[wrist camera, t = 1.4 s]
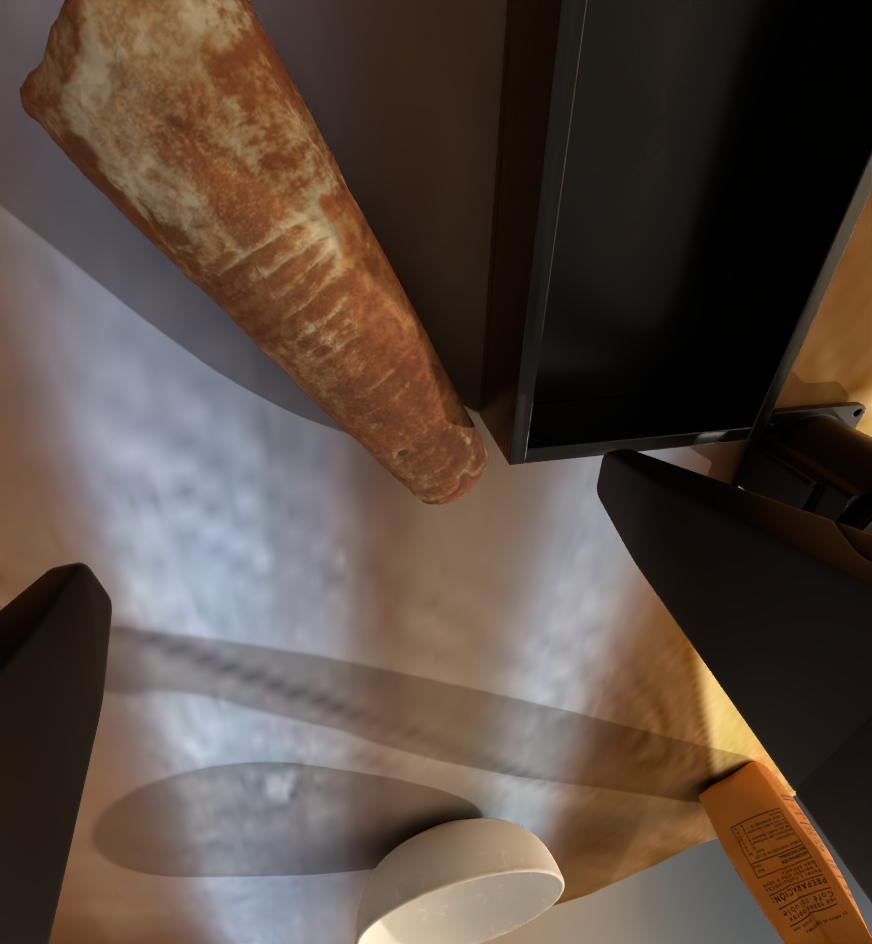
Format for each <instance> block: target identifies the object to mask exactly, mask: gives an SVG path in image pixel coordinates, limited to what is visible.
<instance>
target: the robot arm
mask: <svg viewBox="0 0 872 944" xmlns="http://www.w3.org/2000/svg"><path fill="white" fill-rule="evenodd" d="M865 409H866V408H865V406H864V405H863V404H860V403H858V402H848V403H837V404H826V405H815V406H804V407H793V408H782V409H773V412H772V414H771V416H770V418H769V420H768V423H767V425H766V427H765V429H764V432H763V434H762V436H761V438H760V439H757V440H752V442H751V444H750V446H749V448H748V451H747V453H746V455H745V458H744V460H743V462H742V464H741V467H740V469H739V471H738V474H737V476H736V478H735V480H734V483H733V485H730V484H727V483H724V482H721V481H718V480H715V479H713V478H710V477H707V476H704V475H701V474H698V473H696V472H693V471H690V470H687V469H684V468H681V467H679V466H676V465H673V464H670V463H667V462H664V461H661V460H659V459H656V458H653V457H650V456H647V455H644V454H642V453H639V452H636V451H633V450H630V449H619V450H614V451H609V452H607V453H606V454H605V455H604V456H603V459H602V464H601V469H600V474H599V479H598V483H597V492H598V496H599V498H600V500H601V502H602V504H603V506H604V508H605V510H606V511H607V513H608V515H609V517H610V519H611V520H612V522H613V524H614V526H615V528H616V530H617V531H618V533H619V535H620V537H621V539H622V541H623V542H624V544H625V546H626V548H627V550H628V551H629V553H630V555H631V556H632V558H633V560H634V561H635V563H636V565H637V566H638V568H639V569H640V571H641V572H642V574H643V575H644V576H645V578H646V579H647V581H648V582H649V584H650V585H651V586H652V588H653V589H654V591H655V592H656V594H657V595H658V596H659V598H660V599H661V601H662V602H663V604H664V605H665V607H666V608H667V609H668V611H669V612H670V614H671V615H672V617H673V618H674V619H675V621H676V622H677V624H678V625H679V627H680V628H681V630H682V631H683V632H684V634H685V635H686V637H687V638H688V640H689V641H690V642H691V644H692V645H693V647H694V648H695V650H696V651H697V652H698V654H699V655H700V657H701V658H702V660H703V661H704V663H705V664H706V665H707V667H708V668H709V670H710V671H711V673H712V674H713V675H714V677H715V678H716V680H717V681H718V683H719V684H720V686H721V687H722V688H723V690H724V691H725V693H726V694H727V696H728V697H729V698H730V700H731V701H732V703H733V704H734V706H735V707H736V708H737V710H738V711H739V713H740V714H741V716H742V717H743V719H744V720H745V721H746V723H747V724H748V726H749V727H750V729H751V730H752V731H753V733H754V734H755V736H756V737H757V739H758V740H759V741H760V743H761V744H762V746H763V747H764V749H765V750H766V752H767V753H768V754H769V756H770V757H771V759H772V760H773V762H774V763H775V764H776V766H777V767H778V769H779V770H780V772H781V773H782V775H783V776H784V777H785V779H786V780H787V782H788V783H789V785H790V786H791V787H792V789H793V790H794V791H796V795H797V797H798V798H799V799H800V801H801V802H802V804H803V805H804V807H805V808H806V809H807V811H808V812H809V814H810V815H811V817H812V818H813V820H814V821H815V822H816V824H817V825H818V827H819V828H820V830H821V831H822V832H823V834H824V835H825V837H826V838H827V840H828V841H829V843H830V844H831V845H832V847H833V848H834V850H835V851H836V852H837V854H838V855H839V857H840V858H841V859H842V861H843V863H844V864H845V865H846V867H847V868H848V869H849V871H850V873H851V874H852V875H853V877H854V878H855V880H856V881H857V883H858V884H859V886H860V887H861V888H862V890H863V891H864V893H865V894H866V896H867V897H868V898H869V900H870V901H871V903H872V437H870V436H868V435H866V434H864V433H862V432H860V431H858V430H856V429H855V428H856V426H857V424H858V422H859V421H860V419H861V417H862V415H863V414H864V412H865ZM111 615H112V604H111V600H110V597H109V595H108V594H107V592H106V591H105V589H104V588H103V586H102V585H101V584H100V582H99V581H98V579H97V578H96V576H95V575H94V573H93V572H92V571H91V569H90V568H89V567H88V566H87V565H86V564H84V563H73V564H68V565H64V566H59V567H55V568H52V569H50V570H49V571H47V572H46V573H45V574H44V575H42V576H41V577H40V578H39V579H38V580H37V581H35V582H34V583H33V584H32V585H31V586H29V587H28V588H27V589H26V590H25V591H23V592H22V593H21V594H20V595H19V596H17V597H16V598H15V599H14V600H13V601H11V602H10V603H9V604H8V605H7V606H5V607H4V608H3V609H2V610H1V611H0V944H49V941H50V936H51V932H52V927H53V923H54V918H55V914H56V909H57V905H58V900H59V896H60V891H61V887H62V883H63V878H64V874H65V869H66V865H67V860H68V856H69V851H70V847H71V842H72V838H73V833H74V829H75V824H76V820H77V815H78V811H79V806H80V802H81V797H82V793H83V788H84V784H85V779H86V775H87V771H88V766H89V762H90V757H91V753H92V748H93V744H94V739H95V735H96V730H97V726H98V721H99V717H100V712H101V706H102V701H103V694H104V686H105V676H106V666H107V656H108V645H109V635H110V625H111Z"/></svg>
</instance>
